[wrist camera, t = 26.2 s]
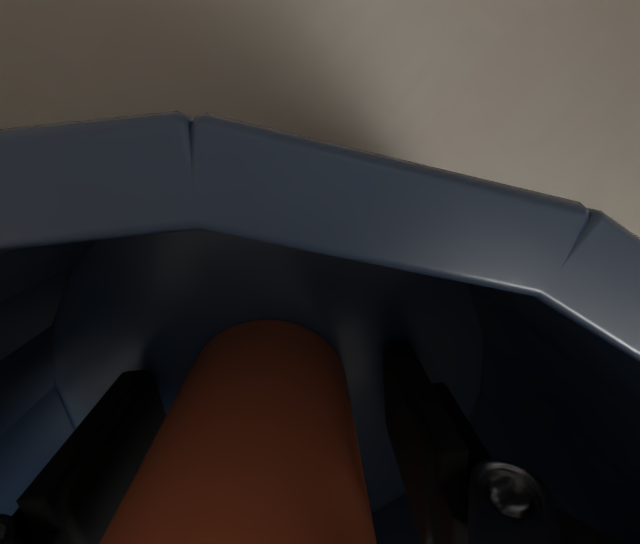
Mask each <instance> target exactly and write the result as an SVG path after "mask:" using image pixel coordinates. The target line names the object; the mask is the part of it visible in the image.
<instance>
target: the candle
mask: <svg viewBox="0 0 640 544" xmlns="http://www.w3.org/2000/svg"><path fill="white" fill-rule="evenodd" d="M99 544H377V542H376V536H375V531H374V526H373V520H372V515H371V510H370V504H369V499H368V493H367V488H366V483H365V477H364V472H363V466H362V461H361V456H360V450H359V445H358V440H357V434H356V429H355V423H354V418H353V413H352V407H351V402H350V397H349V391H348V386H347V380H346V375H345V371H344V368H343V365H342V362H341V360H340V358H339V357H338V355H337V354H336V352H335V351H334V349H333V348H332V347H331V346H330V345H329V344H328V343H327V342H326V341H325V340H324V339H323V338H321V337H320V336H319V335H318V334H316V333H314V332H313V331H311V330H309V329H307V328H305V327H303V326H300V325H297V324H294V323H291V322H287V321H281V320H270V319H265V320H254V321H248V322H244V323H240V324H237V325H235V326H232V327H230V328H228V329H226V330H224V331H222V332H221V333H219V334H217V335H216V336H215V337H214V338H212V339H211V340H210V341H209V342H208V343H207V344H206V345H205V346H204V347H203V348H202V350H201V351H200V353H199V354H198V356H197V358H196V360H195V362H194V363H193V365H192V367H191V369H190V371H189V373H188V375H187V377H186V379H185V381H184V383H183V385H182V386H181V388H180V390H179V392H178V394H177V396H176V398H175V400H174V402H173V404H172V406H171V408H170V409H169V411H168V413H167V415H166V417H165V419H164V421H163V423H162V425H161V427H160V429H159V430H158V432H157V434H156V436H155V438H154V440H153V442H152V444H151V446H150V448H149V450H148V452H147V453H146V455H145V457H144V459H143V461H142V463H141V465H140V467H139V469H138V471H137V473H136V475H135V476H134V478H133V480H132V482H131V484H130V486H129V488H128V490H127V492H126V494H125V496H124V497H123V499H122V501H121V503H120V505H119V507H118V509H117V511H116V513H115V515H114V517H113V519H112V520H111V522H110V524H109V526H108V528H107V530H106V532H105V534H104V536H103V538H102V540H101V542H100V543H99Z"/></svg>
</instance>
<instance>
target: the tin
mask: <svg viewBox="0 0 640 544" xmlns="http://www.w3.org/2000/svg"><path fill="white" fill-rule="evenodd" d="M265 319H270V320H281V321H287V322H291V323H294V324H297V325H300V326H303V327H305V328H307V329H309V330H311V331H313V332H314V333H316V334H318V335H319V336H320V337H321V338H323V339H324V340H325V341H326V342H327V343H328V344H329V345H330V346H331V347H332V348H333V349H334V351H335V352H336V354H337V355H338V357H339V358H340V360H341V362H342V365H343V368H344V371H345V375H346V380H347V386H348V391H349V397H350V402H351V407H352V413H353V418H354V423H355V429H356V434H357V440H358V445H359V450H360V456H361V461H362V466H363V472H364V477H365V483H366V488H367V493H368V499H369V504H370V510H371V515H372V520H373V526H374V531H375V536H376V542H377V544H421V541H420V538H419V535H418V531H417V528H416V525H415V521H414V518H413V515H412V511H411V508H410V505H409V501H408V498H407V495H406V491H405V488H404V485H403V481H402V478H401V475H400V471H399V468H398V465H397V461H396V458H395V455H394V451H393V448H392V445H391V441H390V438H389V435H388V431H387V427H386V420H385V397H384V372H383V348H389V343H393V342H402V341H408V342H409V343H410V345H411V347H412V349H413V350H414V352H415V354H416V356H417V358H418V359H419V361H420V363H421V365H422V367H423V368H424V370H425V372H426V374H427V376H428V377H429V379H430V381H431V383H432V384H433V383H442V382H443V383H445V384H446V386H447V387H448V388H449V390H450V392H451V393H452V395H453V397H454V398H455V400H456V401H457V403H458V405H459V406H460V408H461V410H462V411H463V413H464V414H465V416H466V418H467V419H468V421H469V423H470V424H471V426H472V428H473V429H474V431H475V432H476V434H477V436H478V437H479V439H480V441H481V442H482V444H483V446H484V447H485V449H486V450H487V452H488V454H489V455H490V457H491V459H503V460H509V461H511V462H514V463H517V464H520V465H521V466H523V467H525V468H526V469H528V470H530V471H531V472H533V473H534V474H535V475H536V476H537V477H538V478H539V479H541V480H542V482H543V483H544V484H545V486H546V487H547V488H548V490H549V491H550V494H551V497H552V499H553V502H554V506H555V508H557V509H559V510H561V511H563V512H565V513H567V514H569V515H571V516H573V517H575V518H577V519H579V520H580V521H582V522H584V523H586V524H588V525H590V526H592V527H594V528H596V529H598V530H600V531H602V532H604V533H606V534H607V535H609V536H611V537H613V538H615V539H617V540H619V541H621V542H623V543H625V544H640V239H639V238H638V237H636V236H635V235H634V234H632V233H631V232H630V231H628V230H627V229H625V228H624V227H623V226H621V225H620V224H619V223H617V222H616V221H614V220H613V219H612V218H610V217H609V216H608V215H606V214H605V213H603V212H602V211H600V210H595V209H590V208H586V207H585V206H584V205H583V204H581V203H580V202H577V201H573V200H569V199H565V198H560V197H556V196H552V195H548V194H544V193H539V192H535V191H531V190H527V189H523V188H518V187H514V186H510V185H506V184H502V183H497V182H493V181H489V180H485V179H481V178H476V177H472V176H468V175H464V174H460V173H455V172H451V171H447V170H443V169H439V168H434V167H430V166H426V165H422V164H418V163H413V162H409V161H405V160H401V159H397V158H392V157H388V156H384V155H380V154H376V153H371V152H367V151H363V150H359V149H355V148H350V147H346V146H342V145H338V144H334V143H329V142H325V141H321V140H317V139H313V138H308V137H304V136H300V135H296V134H292V133H287V132H283V131H279V130H275V129H271V128H266V127H262V126H258V125H254V124H250V123H245V122H241V121H237V120H233V119H229V118H224V117H220V116H216V115H212V114H208V113H206V114H200V115H195V117H193V116H190V115H187V114H184V113H181V112H178V111H173V112H164V113H154V114H144V115H134V116H124V117H115V118H105V119H95V120H85V121H75V122H66V123H56V124H46V125H36V126H26V127H17V128H7V129H0V514H7V515H10V516H12V515H13V514H14V513H15V511H16V510H17V509H18V508H19V506H18V504H17V502H16V501H17V500H18V498H19V497H20V496H21V495H22V494H23V492H24V491H25V490H26V489H27V487H28V486H29V485H30V484H31V483H32V481H33V480H34V479H35V478H36V477H37V475H38V474H39V473H40V472H41V470H42V469H43V468H44V467H45V466H46V464H47V463H48V462H49V461H50V460H51V458H52V457H53V456H54V455H55V454H56V452H57V451H58V450H59V449H60V447H61V446H62V445H63V444H64V443H65V441H66V440H67V439H68V438H69V437H70V435H71V434H72V433H73V432H74V430H75V429H76V428H77V427H78V426H79V424H80V423H81V422H82V421H83V420H84V418H85V417H86V416H87V415H88V413H89V412H90V411H91V410H92V409H93V407H94V406H95V405H96V404H97V403H98V401H99V400H100V399H101V398H102V397H103V395H104V394H105V393H106V392H107V390H108V389H109V388H110V387H111V386H112V384H113V383H114V382H115V381H116V380H117V378H118V377H119V376H120V375H121V374H122V373H123V372H126V371H136V370H146V371H147V372H148V374H152V375H153V377H154V379H155V382H156V385H157V389H158V392H159V395H160V398H161V401H162V404H163V408H164V411H165V414H166V415H167V413H168V411H169V409H170V408H171V406H172V404H173V402H174V400H175V398H176V396H177V394H178V392H179V390H180V388H181V386H182V385H183V383H184V381H185V379H186V377H187V375H188V373H189V371H190V369H191V367H192V365H193V363H194V362H195V360H196V358H197V356H198V354H199V353H200V351H201V350H202V348H203V347H204V346H205V345H206V344H207V343H208V342H209V341H210V340H211V339H212V338H214V337H215V336H216V335H217V334H219V333H221V332H222V331H224V330H226V329H228V328H230V327H232V326H235V325H237V324H240V323H244V322H248V321H254V320H265Z"/></svg>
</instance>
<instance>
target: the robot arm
mask: <svg viewBox="0 0 640 544" xmlns="http://www.w3.org/2000/svg"><path fill="white" fill-rule="evenodd" d="M383 372H384V397H385V420H386V427H387V431H388V435H389V438H390V441H391V445H392V448H393V451H394V455H395V458H396V461H397V465H398V468H399V471H400V475H401V478H402V481H403V485H404V488H405V491H406V495H407V498H408V501H409V505H410V508H411V511H412V515H413V518H414V521H415V525H416V528H417V531H418V535H419V538H420V541H421V544H625V543H623V542H621V541H619V540H617V539H615V538H613V537H611V536H609V535H607V534H606V533H604V532H602V531H600V530H598V529H596V528H594V527H592V526H590V525H588V524H586V523H584V522H582V521H580V520H579V519H577V518H575V517H573V516H571V515H569V514H567V513H565V512H563V511H561V510H559V509H557V508H555V506H554V502H553V499H552V497H551V494H550V491H549V490H548V488H547V487H546V486H545V484H544V483H543V482H542V480H541V479H539V478H538V477H537V476H536V475H535V474H534V473H533V472H531V471H530V470H528V469H526V468H525V467H523V466H521V465H520V464H517V463H514V462H511V461H509V460H503V459H491V457H490V455H489V454H488V452H487V450H486V449H485V447H484V446H483V444H482V442H481V441H480V439H479V437H478V436H477V434H476V432H475V431H474V429H473V428H472V426H471V424H470V423H469V421H468V419H467V418H466V416H465V414H464V413H463V411H462V410H461V408H460V406H459V405H458V403H457V401H456V400H455V398H454V397H453V395H452V393H451V392H450V390H449V388H448V387H447V386H446V384H445V383H443V382H442V383H433V384H432V383H431V381H430V379H429V377H428V376H427V374H426V372H425V370H424V368H423V367H422V365H421V363H420V361H419V359H418V358H417V356H416V354H415V352H414V350H413V349H412V347H411V345H410V343H409V342H408V341H402V342H393V343H389V348H383ZM165 417H166V414H165V411H164V408H163V404H162V401H161V398H160V395H159V392H158V389H157V385H156V382H155V379H154V377H153V375H152V374H148V372H147V371H146V370H136V371H126V372H123V373H122V374H121V375H120V376H119V377H118V378H117V380H116V381H115V382H114V383H113V384H112V386H111V387H110V388H109V389H108V390H107V392H106V393H105V394H104V395H103V397H102V398H101V399H100V400H99V401H98V403H97V404H96V405H95V406H94V407H93V409H92V410H91V411H90V412H89V413H88V415H87V416H86V417H85V418H84V420H83V421H82V422H81V423H80V424H79V426H78V427H77V428H76V429H75V430H74V432H73V433H72V434H71V435H70V437H69V438H68V439H67V440H66V441H65V443H64V444H63V445H62V446H61V447H60V449H59V450H58V451H57V452H56V454H55V455H54V456H53V457H52V458H51V460H50V461H49V462H48V463H47V464H46V466H45V467H44V468H43V469H42V470H41V472H40V473H39V474H38V475H37V477H36V478H35V479H34V480H33V481H32V483H31V484H30V485H29V486H28V487H27V489H26V490H25V491H24V492H23V494H22V495H21V496H20V497H19V498H18V500H17V501H16V502H17V504H18V506H19V508H18V509H17V510H16V511H15V513H14V514H13V515H12V516H10V515H7V514H0V544H99V543H100V542H101V540H102V538H103V536H104V534H105V532H106V530H107V528H108V526H109V524H110V522H111V520H112V519H113V517H114V515H115V513H116V511H117V509H118V507H119V505H120V503H121V501H122V499H123V497H124V496H125V494H126V492H127V490H128V488H129V486H130V484H131V482H132V480H133V478H134V476H135V475H136V473H137V471H138V469H139V467H140V465H141V463H142V461H143V459H144V457H145V455H146V453H147V452H148V450H149V448H150V446H151V444H152V442H153V440H154V438H155V436H156V434H157V432H158V430H159V429H160V427H161V425H162V423H163V421H164V419H165Z"/></svg>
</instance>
